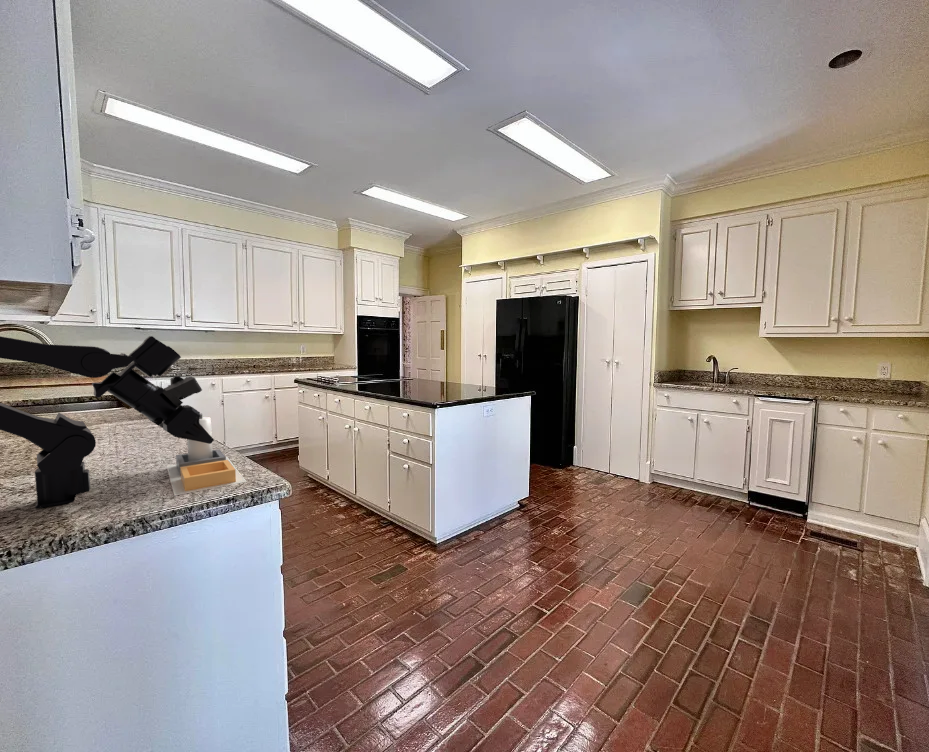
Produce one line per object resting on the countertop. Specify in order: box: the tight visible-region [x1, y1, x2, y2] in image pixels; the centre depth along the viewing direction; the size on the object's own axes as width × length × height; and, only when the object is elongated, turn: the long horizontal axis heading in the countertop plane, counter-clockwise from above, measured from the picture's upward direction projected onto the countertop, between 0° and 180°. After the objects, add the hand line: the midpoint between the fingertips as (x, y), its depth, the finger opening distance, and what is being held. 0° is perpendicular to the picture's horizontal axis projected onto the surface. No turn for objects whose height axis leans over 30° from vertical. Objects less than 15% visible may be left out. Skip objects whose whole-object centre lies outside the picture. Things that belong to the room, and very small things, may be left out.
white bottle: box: [186, 412, 213, 462], centre depth 91 cm, size 5×5×12 cm
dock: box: [166, 448, 247, 496], centre depth 88 cm, size 12×22×4 cm, turn 39°
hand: (205, 438), depth 92 cm, fingers open, 9 cm apart
